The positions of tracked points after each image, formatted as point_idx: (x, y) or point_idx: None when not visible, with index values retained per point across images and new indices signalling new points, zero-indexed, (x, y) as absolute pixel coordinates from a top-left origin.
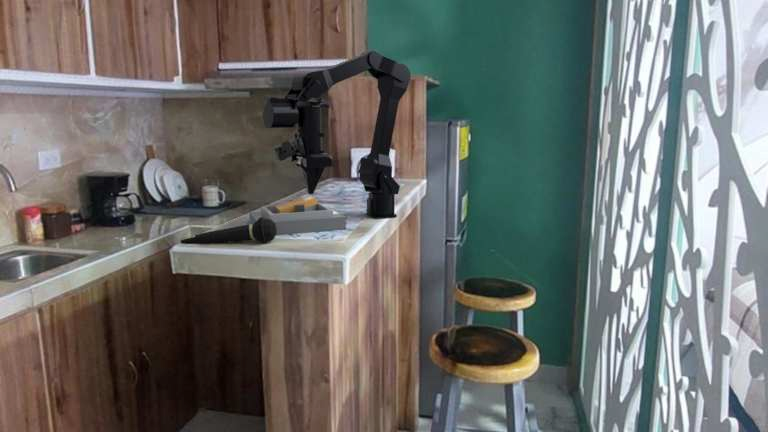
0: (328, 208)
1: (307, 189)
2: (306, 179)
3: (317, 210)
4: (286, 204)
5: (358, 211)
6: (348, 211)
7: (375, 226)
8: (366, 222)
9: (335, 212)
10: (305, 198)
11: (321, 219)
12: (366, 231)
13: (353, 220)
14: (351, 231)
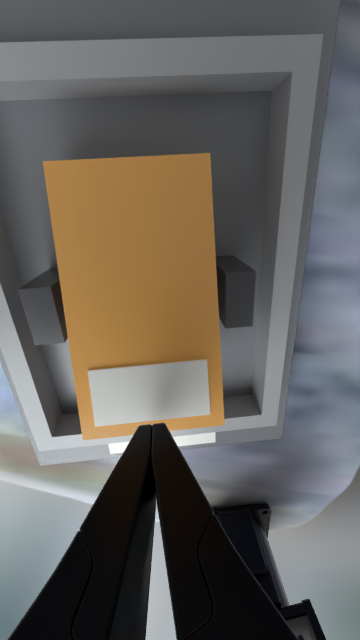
0: (96, 440)
1: (153, 445)
2: (87, 550)
3: None
4: (161, 238)
5: (328, 491)
6: (345, 469)
7: (88, 498)
8: None
9: None
10: (155, 381)
11: (8, 377)
12: (16, 469)
13: (198, 462)
14: (22, 434)
